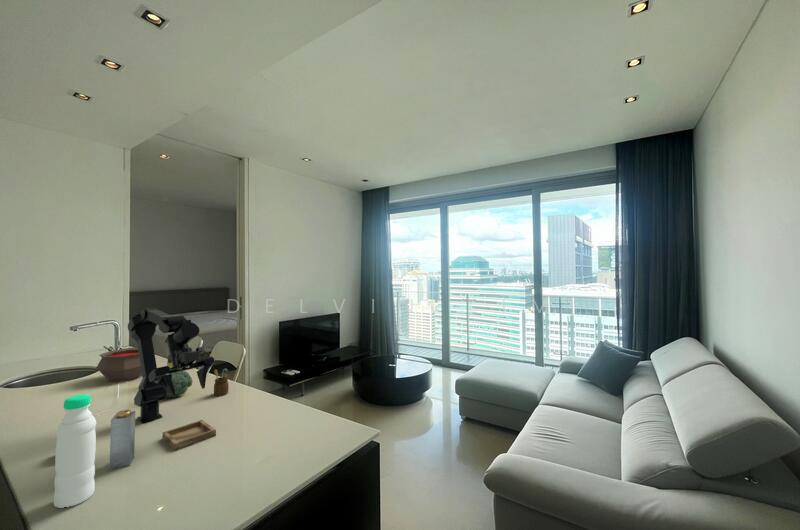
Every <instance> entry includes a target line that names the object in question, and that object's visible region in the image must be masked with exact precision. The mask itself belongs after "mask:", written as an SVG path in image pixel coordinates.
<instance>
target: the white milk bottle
mask: <svg viewBox="0 0 800 530" xmlns="http://www.w3.org/2000/svg"><path fill="white" fill-rule="evenodd" d="M91 401H92V397H91V395H90V394H88V393H87V394H85V393H84V394H77V395H72V396H70V397H68V398H66V399H64V401H63V409H64V411H65V412H66V413H65V415H64V416H63V418H62V419H61V422H59V425H58V426H57V428H56V430H55V436H56V443H55V455H54V456H55V460H54V463H55V464H54V465H55V466H54V467H55V469H54V470H55V478H54V495H53V496H54V497H53V505H54V507H55V508H59V509H65V508H64V507H67V508H71V507H74V506H77V505H79V504H81V503H84V502H85V501H86V500H88V499H89V498H90V497H91V496H93V494H94V493H95V488H96V487H95V473H96V467H95V460H96V459H95V458H96V448H97V447H96V446H97V444H96V443H97V441H96V440H97V439H96V438H97V437H96V427H97V420H96V418H95V417H94V415H93V413H92V411H91V410H89V407H90V405H91ZM70 506H71V507H70Z"/></svg>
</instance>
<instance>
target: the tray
mask: <svg viewBox="0 0 800 530" xmlns="http://www.w3.org/2000/svg"><path fill="white" fill-rule="evenodd" d="M216 436H217V429H215V428H214V427H213V426H211V425H210V424H208V422H206V421H204V420H203V419H200V420H197V421H193V422H191V423H189V424H185V425H181V426H179V427H175V428H173V429H170V430H166V431H164V432H162V438H163V439H164V440H165V441H164V440H163V441H164V442H165V443H166V444H168V445H169V446H170V448H171V449H172V450H173V451H175V452H176V451H178V450H182V449H183V448H187V447H189V446H192V445H194V444H198V443H200V442H203V441H205V440H208V439H210V438H213V437H216Z"/></svg>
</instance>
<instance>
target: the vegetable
mask: <svg viewBox="0 0 800 530" xmlns="http://www.w3.org/2000/svg"><path fill="white" fill-rule="evenodd" d="M172 383H173V386H174V390H175V395H176V396H175V397H177V396H178V397H180V396H181V395H184V394H185V393H186V392H187V390H188V388H190V387H192V385H193V378H192V377H191V375H190V373H189V372H188V371H187V370H185V371H181V372H177V373H173V374H172ZM169 398H173V397H172V396H171V395H170V394H169V393H168V391H167V394H166V398H165V400H166V399H167V400H168V399H169Z"/></svg>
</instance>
